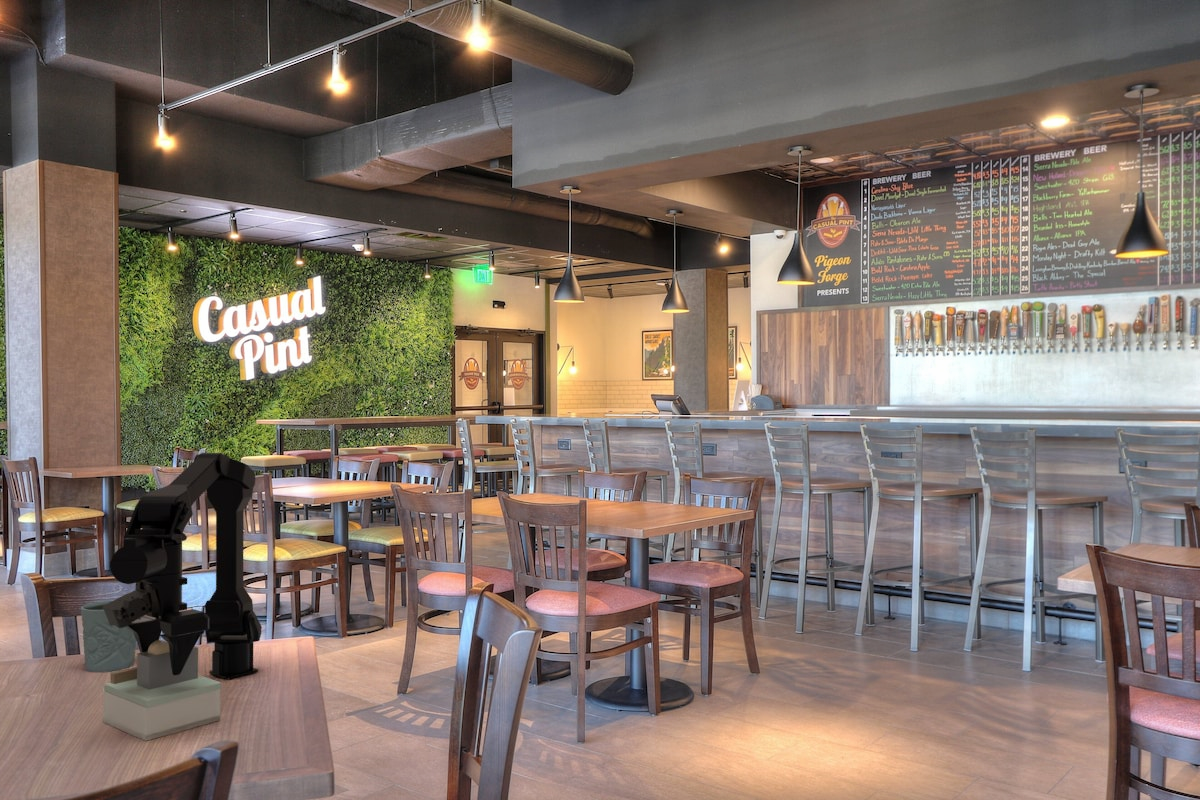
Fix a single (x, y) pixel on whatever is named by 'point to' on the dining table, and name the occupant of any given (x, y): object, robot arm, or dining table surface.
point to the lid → (128, 688)
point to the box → (160, 714)
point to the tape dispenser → (163, 667)
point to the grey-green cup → (105, 641)
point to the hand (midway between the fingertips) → (162, 669)
